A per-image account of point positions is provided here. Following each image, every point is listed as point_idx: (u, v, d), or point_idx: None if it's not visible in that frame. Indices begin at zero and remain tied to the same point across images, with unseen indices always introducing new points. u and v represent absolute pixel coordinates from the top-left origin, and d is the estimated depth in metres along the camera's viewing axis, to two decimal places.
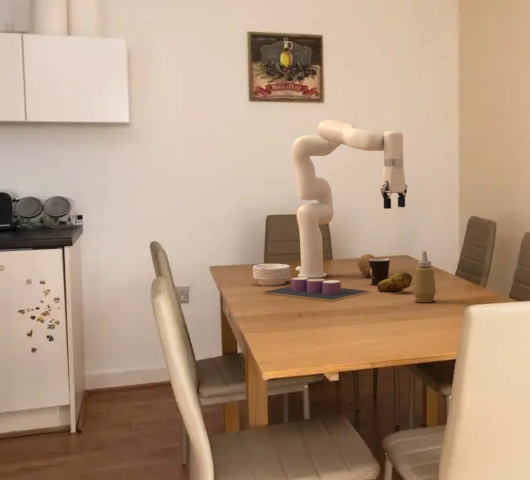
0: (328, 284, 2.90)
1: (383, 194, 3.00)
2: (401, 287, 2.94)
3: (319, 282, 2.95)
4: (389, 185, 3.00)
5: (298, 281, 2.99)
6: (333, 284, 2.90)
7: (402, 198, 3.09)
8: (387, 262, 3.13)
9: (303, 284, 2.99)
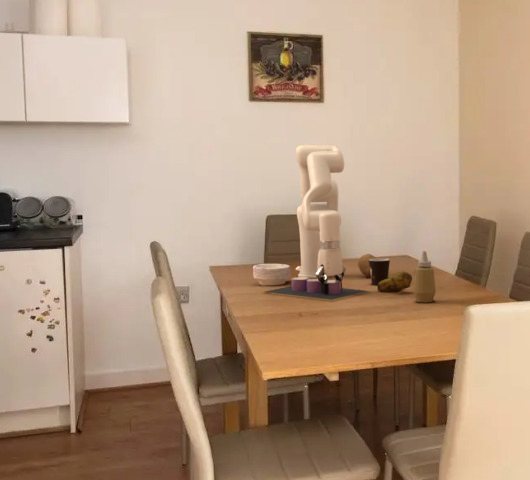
0: (328, 284, 2.90)
1: (320, 279, 2.88)
2: (401, 287, 2.94)
3: (319, 282, 2.95)
4: (324, 269, 2.87)
5: (298, 281, 2.99)
6: (333, 284, 2.90)
7: None
8: (387, 262, 3.13)
9: (303, 284, 2.99)
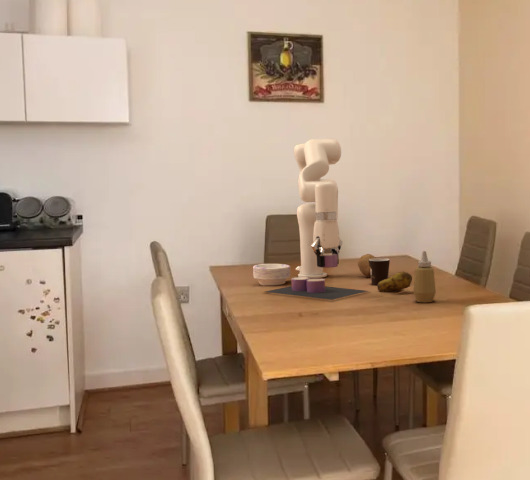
0: (324, 257, 2.81)
1: (315, 252, 2.79)
2: (401, 287, 2.94)
3: (319, 282, 2.95)
4: (320, 241, 2.79)
5: (298, 281, 2.99)
6: (329, 257, 2.81)
7: None
8: (387, 262, 3.13)
9: (303, 284, 2.99)
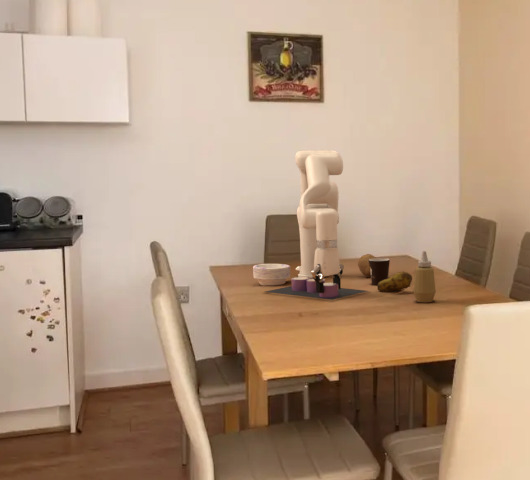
0: (325, 287, 2.84)
1: (315, 278, 2.81)
2: (401, 287, 2.94)
3: None
4: (321, 268, 2.81)
5: (298, 281, 2.99)
6: (330, 287, 2.84)
7: (337, 279, 2.90)
8: (387, 262, 3.13)
9: (303, 284, 2.99)
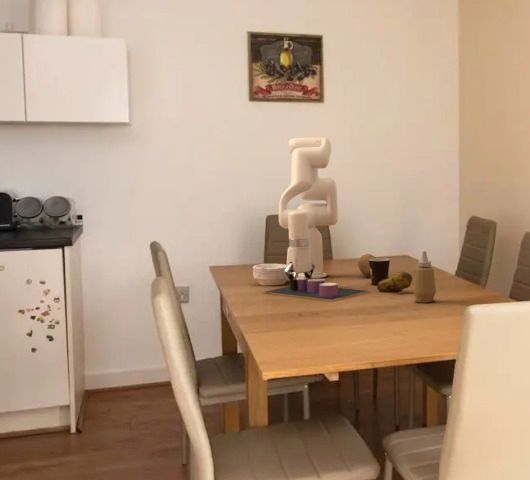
0: (325, 287, 2.84)
1: (289, 276, 2.96)
2: (401, 287, 2.94)
3: (319, 282, 2.95)
4: (293, 266, 2.96)
5: (298, 281, 2.99)
6: (330, 287, 2.84)
7: None
8: (387, 262, 3.13)
9: (303, 284, 2.99)
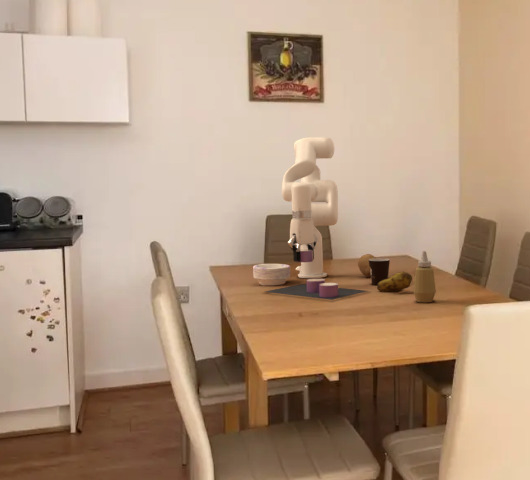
0: (325, 287, 2.84)
1: (292, 248, 3.01)
2: (401, 287, 2.94)
3: (319, 282, 2.95)
4: (296, 237, 3.01)
5: (301, 252, 3.03)
6: (330, 287, 2.84)
7: None
8: (387, 262, 3.13)
9: (306, 255, 3.04)
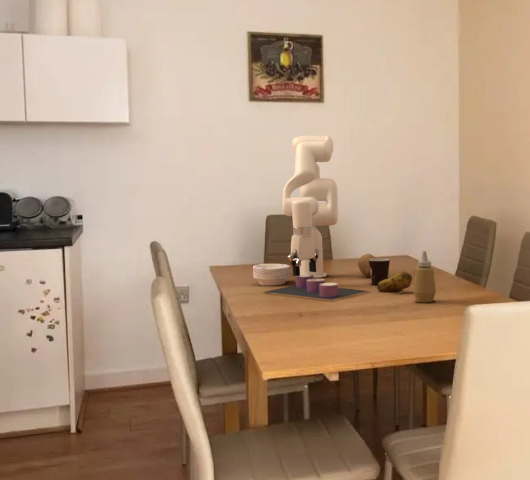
0: (325, 287, 2.84)
1: (291, 262, 3.03)
2: (401, 287, 2.94)
3: (319, 282, 2.95)
4: (297, 253, 3.03)
5: (302, 278, 3.06)
6: (330, 287, 2.84)
7: (313, 263, 3.12)
8: (387, 262, 3.13)
9: None
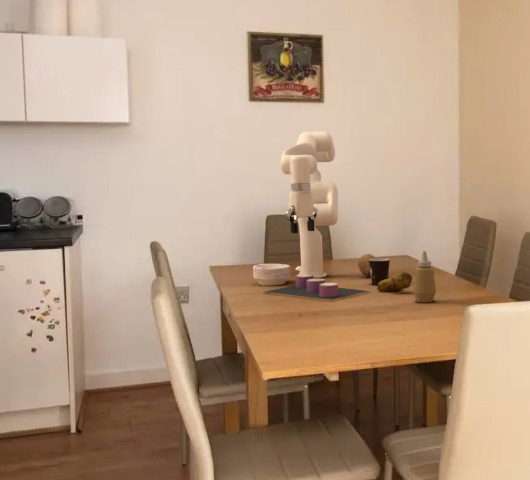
0: (325, 287, 2.84)
1: (289, 219, 2.98)
2: (401, 287, 2.94)
3: (319, 282, 2.95)
4: (295, 210, 2.99)
5: (302, 278, 3.06)
6: (330, 287, 2.84)
7: (311, 222, 3.08)
8: (387, 262, 3.13)
9: None
